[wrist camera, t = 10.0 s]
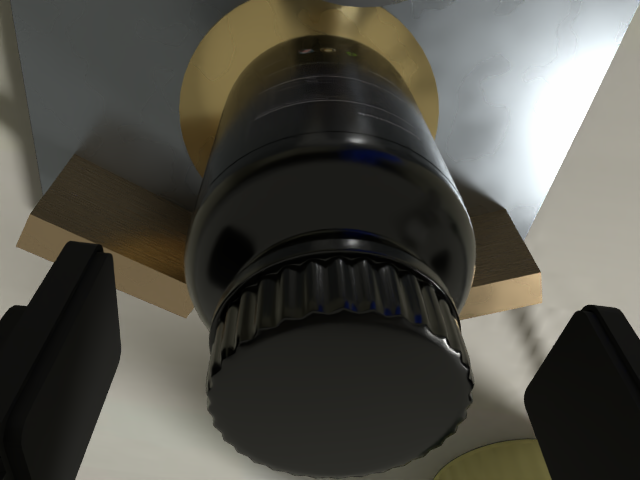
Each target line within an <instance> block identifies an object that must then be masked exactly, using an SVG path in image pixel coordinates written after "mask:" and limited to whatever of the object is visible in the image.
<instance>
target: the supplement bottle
mask: <svg viewBox="0 0 640 480" xmlns="http://www.w3.org/2000/svg"><path fill="white" fill-rule="evenodd" d="M475 268H476V241H475V235H474V231H473V227H472V223H471V220H470V218H469V215H468V212H467V210H466V207H465V204H464V202H463V200H462V198H461V196H460V193H459V191H458V189H457V187H456V185H455V183H454V181H453V179H452V177H451V175H450V172H449V170H448V168H447V166H446V164H445V162H444V160H443V158H442V156H441V154H440V151H439V149H438V147H437V145H436V143H435V141H434V139H433V137H432V135H431V133H430V130H429V128H428V126H427V124H426V122H425V120H424V118H423V116H422V114H421V112H420V109H419V107H418V105H417V103H416V101H415V99H414V97H413V95H412V93H411V91H410V90H409V88H408V86H407V84H406V82H405V81H404V79H403V78H402V76H401V75H400V73H399V72H398V71H397V70H396V69H395V67H394V66H393V65H392V64H391V63H390V62H389V61H388V60H387V59H386V58H385V57H383V56H382V55H381V54H379V53H378V52H377V51H375V50H373V49H372V48H370V47H368V46H366V45H364V44H362V43H360V42H357V41H355V40H352V39H349V38H345V37H341V36H334V35H307V36H301V37H296V38H293V39H289V40H286V41H284V42H281V43H279V44H277V45H275V46H273V47H271V48H269V49H267V50H266V51H264V52H263V53H261V54H260V55H259V56H258V57H256V58H255V59H254V60H253V61H252V62H251V63H250V64H249V65H248V66H247V67H246V68H245V69H244V70H243V71H242V73H241V74H240V75H239V77H238V78H237V80H236V81H235V83H234V85H233V87H232V89H231V91H230V93H229V95H228V98H227V100H226V103H225V106H224V109H223V111H222V115H221V118H220V121H219V125H218V128H217V131H216V135H215V138H214V142H213V145H212V148H211V152H210V155H209V159H208V162H207V165H206V169H205V172H204V175H203V179H202V182H201V186H200V189H199V192H198V196H197V199H196V203H195V206H194V209H193V213H192V216H191V220H190V224H189V228H188V232H187V237H186V242H185V249H184V273H185V281H186V285H187V289H188V293H189V296H190V298H191V301H192V303H193V306H194V308H195V310H196V312H197V313H198V315H199V317H200V319H201V320H202V322H203V323H204V325H205V326H206V328H207V329H208V331H209V332H210V334H209V348H210V354H211V356H210V362H209V368H208V374H207V379H206V393H207V396H208V398H207V409H208V411H209V413H210V414H211V415H212V416H213V425H214V427H215V428H217V429H218V430H219V431H220V432H221V433H222V437H223V439H224V441H226V442H228V443H229V444H231V445H233V446H234V447H235V449H236V451H237V452H238V453H240V454H243V455H245V456H248V457H249V458H250V459H251V460H252V461H253V462H254V463H258V464H262V465H266V466H268V467H269V468H271V469H272V470H276V471H284V472H287V473H290V474H292V475H294V476H309V477H313V478H327V477H329V478H336V479H341V478H346V477H363V476H366V475H369V474H372V473H383V472H386V471H388V470H390V469H392V468H395V467H400V466H405V465H406V464H408V463H409V462H411V461H412V460H415V459H418V458H421V457H424V456H425V455H426V454H427V453H428V452H429V451H430V450H432V449H434V448H437V447H439V446H441V445H442V444H443V442H444V441H445V439H446V438H447V437H449V436H451V435H453V434H454V433H456V430H457V427H458V425H459V424H460V423H461V422H462V421H463V420H465V419H466V416H467V412H466V410H467V408H468V407H469V406H470V405H471V403H472V402H473V399H472V392H471V391H472V389H473V386H474V377H473V373H472V370H471V367H470V359H469V355H468V352H467V349H466V346H465V343H464V340H463V337H462V334H461V324H460V320H459V314H460V312H461V311H462V309H463V307H464V305H465V303H466V300H467V298H468V295H469V293H470V290H471V287H472V283H473V279H474V275H475Z"/></svg>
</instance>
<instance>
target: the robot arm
mask: <svg viewBox="0 0 640 480" xmlns="http://www.w3.org/2000/svg"><path fill="white" fill-rule="evenodd" d="M120 355H121V340H120V329H119V318H118V307H117V296H116V285H115V273H114V262H113V256H112V254H111V253H104V250H103V247H102V245H100V244H94V243H86V242H77V241H69V242H67V243H66V244H65V246H64V247H63V249H62V251H61V252H60V254H59V256H58V257H57V259H56V260H55V262H54V264H53V265H52V267H51V269H50V270H49V272H48V273H47V275H46V277H45V278H44V280H43V282H42V283H41V285H40V286H39V288H38V290H37V291H36V293H35V294H34V296H33V298H32V299H31V301H30V303H29V304H28V306H20V305H14V306H13V307H11V308H9V309H8V311H7V312H6V313H5V314H4V316H3V317H2V319H1V320H0V480H75V478H76V476H77V473H78V470H79V468H80V465H81V462H82V460H83V457H84V454H85V452H86V449H87V446H88V444H89V441H90V438H91V436H92V433H93V431H94V428H95V425H96V423H97V420H98V417H99V415H100V412H101V409H102V407H103V404H104V401H105V399H106V396H107V393H108V391H109V388H110V385H111V383H112V380H113V377H114V375H115V372H116V369H117V367H118V364H119V360H120ZM524 404H525V408H526V410H527V413H528V416H529V419H530V421H531V424H532V427H533V430H534V433H535V435H536V438H537V441H538V444H539V446H540V449H541V452H542V455H543V457H544V460H545V463H546V466H547V468H548V471H549V474H550V477H551V480H640V339H639V338H638V336H637V335H636V333H635V332H634V330H633V328H632V327H631V325H630V324H629V322H628V321H627V319H626V317H625V316H624V314H623V313H622V312H621V311H620V310H619V309H617V308H613V307H605V306H597V305H587V306H585V307H583V309H582V310H581V311H577V312H575V313H574V315H573V316H572V318H571V319H570V321H569V322H568V324H567V325H566V327H565V329H564V330H563V332H562V333H561V335H560V336H559V338H558V340H557V341H556V343H555V344H554V346H553V348H552V349H551V351H550V352H549V354H548V355H547V357H546V359H545V360H544V362H543V363H542V365H541V366H540V368H539V370H538V371H537V373H536V374H535V376H534V378H533V379H532V381H531V382H530V384H529V385H528V387H527V389H526V391H525V395H524Z"/></svg>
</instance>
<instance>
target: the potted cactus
mask: <svg viewBox="0 0 640 480" xmlns="http://www.w3.org/2000/svg"><path fill="white" fill-rule="evenodd" d="M433 480H551V477H550V474H549V471H548V468H547V466H546V463H545V460H544V457H543V455H542V452H541V449H540V446H539V444H538V441H537V439H522V440H511V441H505V442H499V443H495V444H490V445H487V446H484V447H481V448H478V449H475V450H472V451H470V452H468V453H465V454H463V455H461V456H460V457H458V458H456V459H454V460H453V461H451V462H450V463H448V464H447V465H446V466H445V467H444V468H442V469H441V470H440V471H439V473H438V474H437V475H436V476H435V478H434V479H433Z"/></svg>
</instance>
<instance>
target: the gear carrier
mask: <svg viewBox="0 0 640 480" xmlns="http://www.w3.org/2000/svg"><path fill="white" fill-rule="evenodd" d="M10 2H11V8H12V14H13V20H14V26H15V32H16V38H17V44H18V50H19V56H20V62H21V68H22V73H23V79H24V85H25V91H26V97H27V103H28V109H29V115H30V121H31V127H32V133H33V139H34V145H35V151H36V157H37V163H38V168H39V174H40V180H41V186H42V192H43V197H42V198H41V200H40V201H39V203H38V204H37V205H36V207H35V208H34V209H33V211H32V212H31V213H30V215H29V218H28V220H27V222H26V225H25V227H24V229H23V231H22V234H21V236H20V238H19V241H18V243H17V245H16V247H19V248H21V249H23V250H26V251H28V252H30V253H33V254H35V255H37V256H40V257H42V258H45V259H47V260H49V261H52V262H55V260H56V259H57V257H58V256H59V254H60V252H61V251H62V249H63V247H64V246H65V244H66V243H67V242H69V241H77V242H86V243H94V244H100V245H102V247H103V250H104V253H111V254H112V256H113V262H114V273H115V285H116V289H118V290H120V291H123V292H125V293H127V294H130V295H132V296H134V297H137V298H139V299H141V300H144V301H146V302H148V303H151V304H153V305H156V306H158V307H160V308H163V309H165V310H167V311H170V312H172V313H174V314H177V315H179V316H182V317H184V318H187V316H188V315H189V314H190V312H191V311H192V310H193V308H194V306H193V303H192V301H191V298H190V296H189V293H188V289H187V285H186V281H185V273H184V249H185V242H186V237H187V232H188V228H189V224H190V220H191V216H192V213H193V209H194V206H195V203H196V199H197V196H198V192H199V189H200V186H201V182H202V179H203V175H204V172H205V169H206V165H207V162H208V159H209V155H210V152H211V148H212V145H213V142H214V138H215V135H216V131H217V128H218V125H219V121H220V118H221V115H222V111H223V109H224V106H225V103H226V100H227V98H228V95H229V93H230V91H231V89H232V87H233V85H234V83H235V81H236V80H237V78H238V77H239V75H240V74H241V73H242V71H243V70H244V69H245V68H246V67H247V66H248V65H249V64H250V63H251V62H252V61H253V60H254V59H255V58H256V57H258V56H259V55H260V54H261V53H263V52H264V51H266V50H267V49H269V48H271V47H273V46H275V45H277V44H279V43H281V42H284V41H286V40H289V39H293V38H296V37H301V36H307V35H334V36H341V37H345V38H349V39H352V40H355V41H357V42H360V43H362V44H364V45H366V46H368V47H370V48H372V49H373V50H375V51H377V52H378V53H379V54H381V55H382V56H383V57H385V58H386V59H387V60H388V61H389V62H390V63H391V64H392V65H393V66H394V67H395V69H396V70H397V71H398V72H399V73H400V75H401V76H402V78H403V79H404V81H405V82H406V84H407V86H408V88H409V90H410V91H411V93H412V95H413V97H414V99H415V101H416V103H417V105H418V107H419V109H420V112H421V114H422V116H423V118H424V120H425V122H426V124H427V126H428V128H429V130H430V133H431V135H432V137H433V139H434V141H435V143H436V145H437V147H438V149H439V151H440V154H441V156H442V158H443V160H444V162H445V164H446V166H447V168H448V170H449V172H450V175H451V177H452V179H453V181H454V183H455V185H456V187H457V189H458V191H459V193H460V196H461V198H462V200H463V202H464V204H465V207H466V210H467V212H468V215H469V218H470V220H471V223H472V227H473V231H474V235H475V241H476V268H475V275H474V279H473V283H472V287H471V290H470V293H469V295H468V298H467V300H466V303H465V305H464V307H463V309H462V311H461V312H460V314H459V320H463V319H468V318H472V317H477V316H482V315H487V314H491V313H496V312H501V311H506V310H510V309H515V308H520V307H525V306H529V305H534V304H539V303H542V286H541V272H540V270H539V268H538V266H537V265H536V263H535V261H534V259H533V257H532V255H531V254H530V252H529V250H528V248H527V246H526V245H525V243H524V240H525V238H526V236H527V234H528V231H529V229H530V227H531V225H532V223H533V221H534V219H535V217H536V215H537V213H538V211H539V209H540V207H541V205H542V203H543V201H544V199H545V197H546V194H547V192H548V190H549V188H550V186H551V184H552V182H553V180H554V178H555V176H556V174H557V172H558V170H559V168H560V166H561V164H562V162H563V160H564V158H565V155H566V153H567V151H568V149H569V147H570V145H571V143H572V141H573V139H574V137H575V135H576V133H577V131H578V129H579V127H580V125H581V123H582V121H583V118H584V116H585V114H586V112H587V110H588V108H589V106H590V104H591V102H592V100H593V98H594V96H595V94H596V92H597V90H598V88H599V86H600V84H601V82H602V79H603V77H604V75H605V73H606V71H607V69H608V67H609V65H610V63H611V61H612V59H613V57H614V55H615V53H616V51H617V49H618V47H619V45H620V42H621V40H622V38H623V36H624V34H625V32H626V30H627V28H628V26H629V24H630V22H631V20H632V18H633V16H634V14H635V12H636V10H637V8H638V5H639V3H640V0H10Z"/></svg>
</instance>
